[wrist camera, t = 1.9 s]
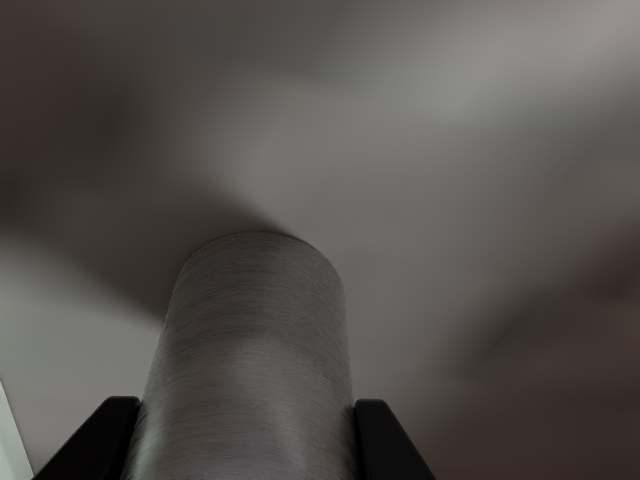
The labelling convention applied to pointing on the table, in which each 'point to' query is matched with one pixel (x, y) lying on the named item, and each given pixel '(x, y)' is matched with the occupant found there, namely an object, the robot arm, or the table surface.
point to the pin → (250, 370)
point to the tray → (11, 446)
